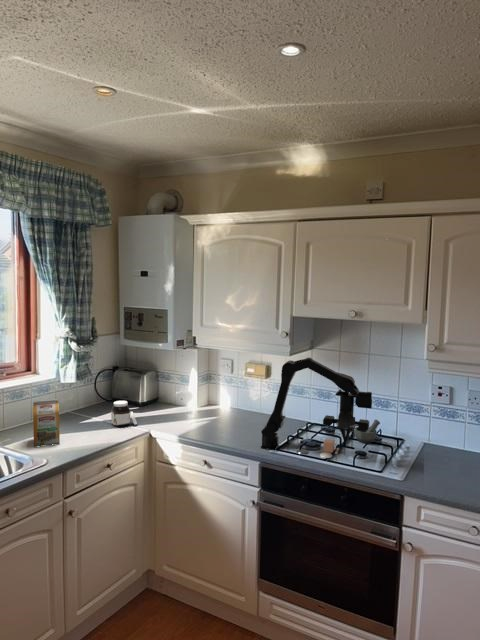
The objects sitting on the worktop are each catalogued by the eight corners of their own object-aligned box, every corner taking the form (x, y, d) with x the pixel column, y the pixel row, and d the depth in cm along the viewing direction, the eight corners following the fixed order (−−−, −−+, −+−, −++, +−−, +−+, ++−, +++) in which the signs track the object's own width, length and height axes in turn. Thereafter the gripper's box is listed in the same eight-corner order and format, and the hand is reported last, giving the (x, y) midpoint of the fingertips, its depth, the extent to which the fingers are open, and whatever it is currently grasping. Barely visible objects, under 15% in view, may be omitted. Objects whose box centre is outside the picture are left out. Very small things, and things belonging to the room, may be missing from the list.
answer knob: (323, 451, 209) (323, 442, 208) (325, 448, 212) (325, 439, 212) (332, 452, 207) (333, 443, 207) (334, 449, 211) (334, 440, 211)
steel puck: (295, 456, 206) (295, 452, 206) (298, 452, 210) (298, 449, 210) (307, 458, 204) (307, 454, 204) (309, 454, 209) (309, 450, 209)
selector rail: (295, 451, 212) (295, 447, 212) (298, 446, 218) (298, 443, 217) (336, 457, 206) (337, 453, 206) (339, 452, 211) (339, 448, 211)
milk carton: (33, 447, 213) (32, 404, 211) (34, 439, 222) (33, 398, 221) (59, 444, 217) (58, 402, 215) (58, 436, 226) (58, 396, 225)
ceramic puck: (318, 460, 202) (319, 456, 202) (321, 455, 207) (321, 452, 207) (330, 461, 201) (331, 458, 201) (333, 457, 205) (333, 453, 205)
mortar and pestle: (352, 446, 219) (353, 420, 218) (354, 439, 228) (355, 414, 227) (378, 449, 216) (379, 423, 215) (379, 442, 225) (380, 417, 223)
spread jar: (109, 424, 247) (108, 401, 246) (129, 419, 254) (129, 398, 253) (120, 429, 238) (120, 406, 237) (140, 425, 245) (140, 402, 244)
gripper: (321, 408, 201) (319, 445, 203) (367, 413, 195) (365, 451, 196) (325, 402, 212) (324, 437, 213) (370, 406, 205) (368, 442, 207)
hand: (345, 442), depth 207 cm, fingers closed
